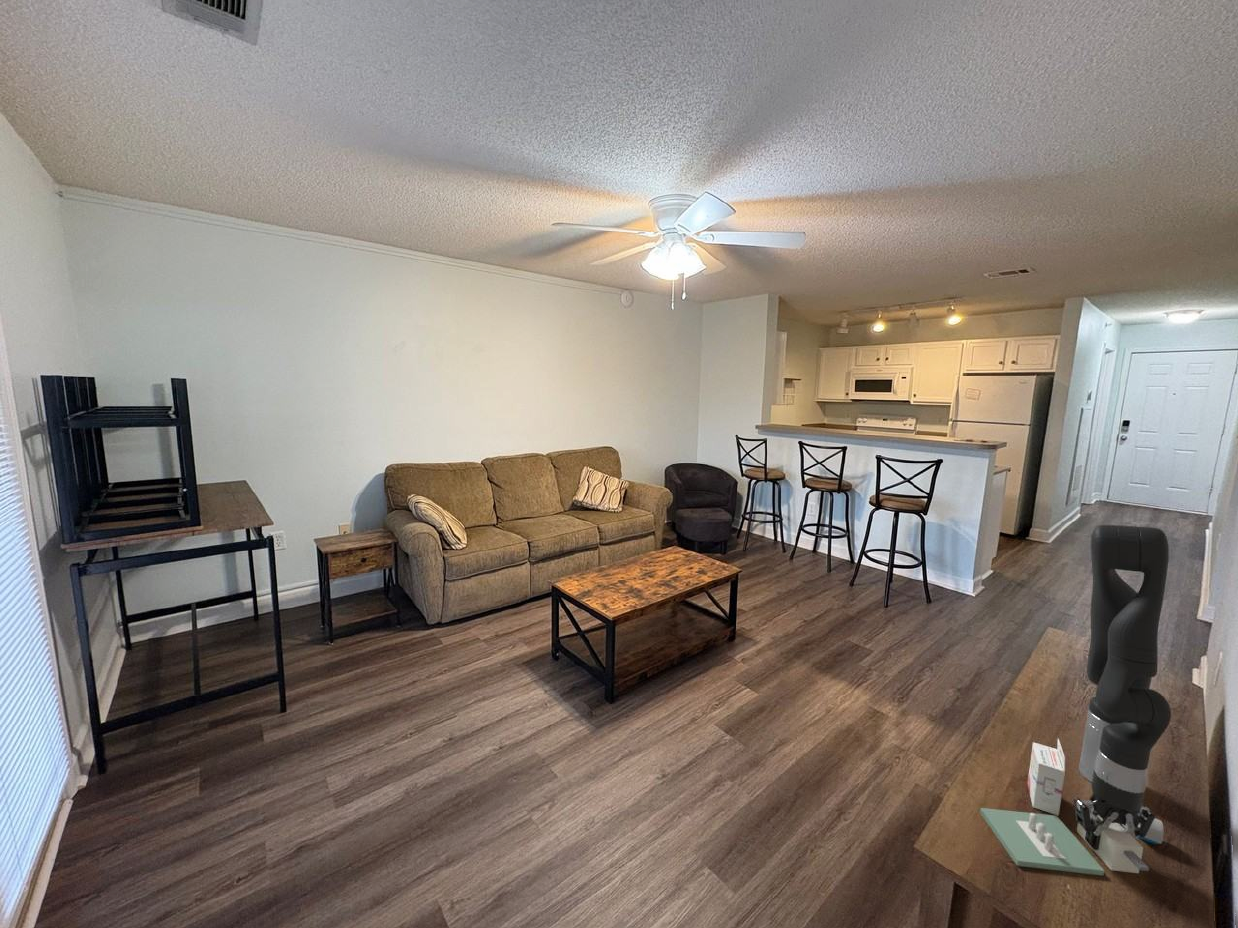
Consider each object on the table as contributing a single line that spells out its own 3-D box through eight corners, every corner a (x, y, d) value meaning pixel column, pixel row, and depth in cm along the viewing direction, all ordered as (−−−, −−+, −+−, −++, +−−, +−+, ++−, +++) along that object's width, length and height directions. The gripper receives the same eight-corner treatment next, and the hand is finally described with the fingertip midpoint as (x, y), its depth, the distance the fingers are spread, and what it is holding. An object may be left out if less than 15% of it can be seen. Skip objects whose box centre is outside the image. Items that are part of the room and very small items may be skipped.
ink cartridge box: (1025, 782, 123) (1033, 729, 120) (1051, 791, 120) (1060, 737, 118) (1031, 807, 116) (1040, 751, 113) (1059, 817, 113) (1068, 759, 111)
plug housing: (1101, 833, 109) (1105, 809, 108) (1154, 890, 96) (1160, 863, 96) (1076, 831, 109) (1080, 807, 108) (1126, 887, 97) (1131, 860, 96)
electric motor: (1124, 820, 112) (1128, 800, 111) (1155, 831, 109) (1159, 812, 108) (1129, 841, 107) (1133, 821, 106) (1162, 854, 104) (1166, 833, 103)
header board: (1055, 820, 112) (1058, 801, 111) (1103, 875, 99) (1107, 855, 99) (979, 812, 114) (982, 794, 113) (1016, 865, 101) (1019, 845, 101)
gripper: (1141, 766, 105) (1128, 836, 107) (1067, 759, 106) (1056, 828, 109) (1176, 795, 97) (1161, 868, 100) (1095, 787, 99) (1083, 860, 102)
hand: (1106, 847), depth 104 cm, fingers closed on plug housing, 5 cm apart
